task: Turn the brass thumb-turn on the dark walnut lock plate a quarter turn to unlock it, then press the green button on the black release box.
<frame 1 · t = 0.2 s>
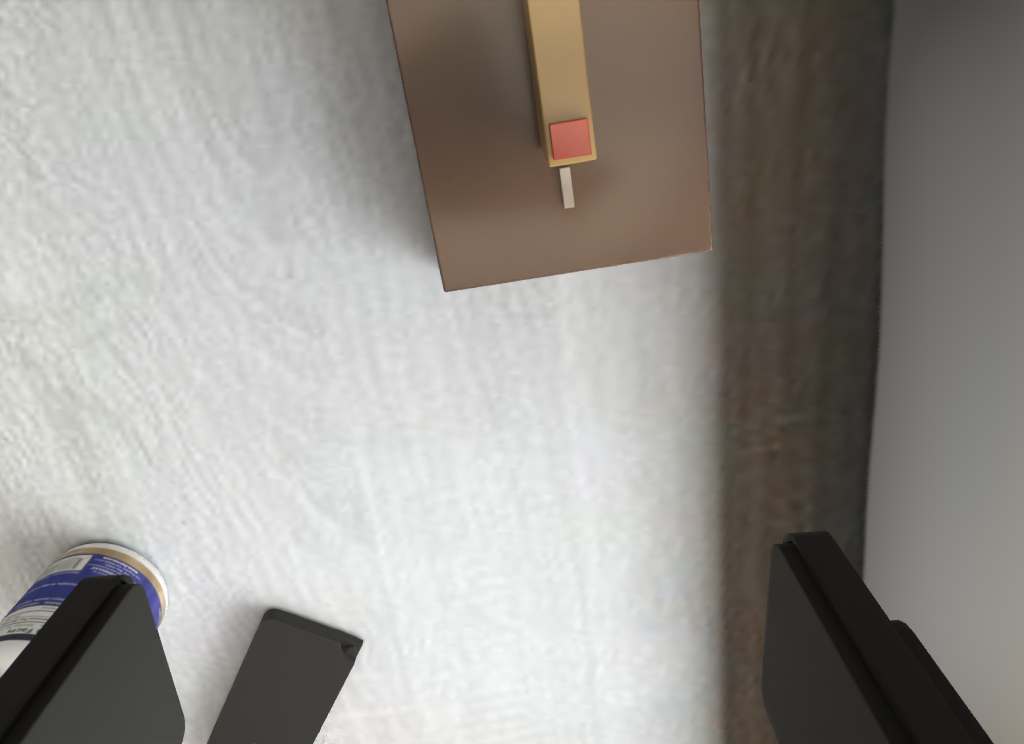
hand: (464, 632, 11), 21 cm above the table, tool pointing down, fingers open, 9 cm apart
lock plate: (546, 68, 28), on the table
pill bottle: (114, 584, 37), on the table
thumbturn: (556, 70, 23), point 5 cm above the table, hinge at 0.0°
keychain: (284, 689, 39), on the table
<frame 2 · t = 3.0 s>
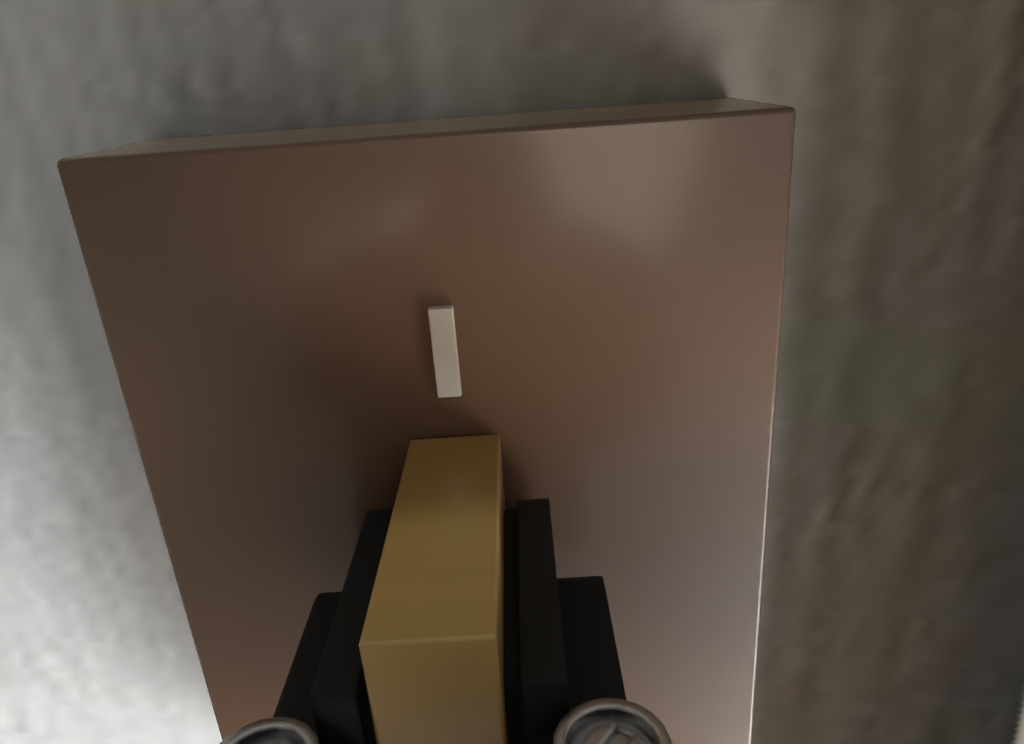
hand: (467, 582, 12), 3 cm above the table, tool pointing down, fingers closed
lock plate: (475, 476, 15), on the table
thumbturn: (461, 674, 10), point 5 cm above the table, hinge at 0.0°, touching gripper
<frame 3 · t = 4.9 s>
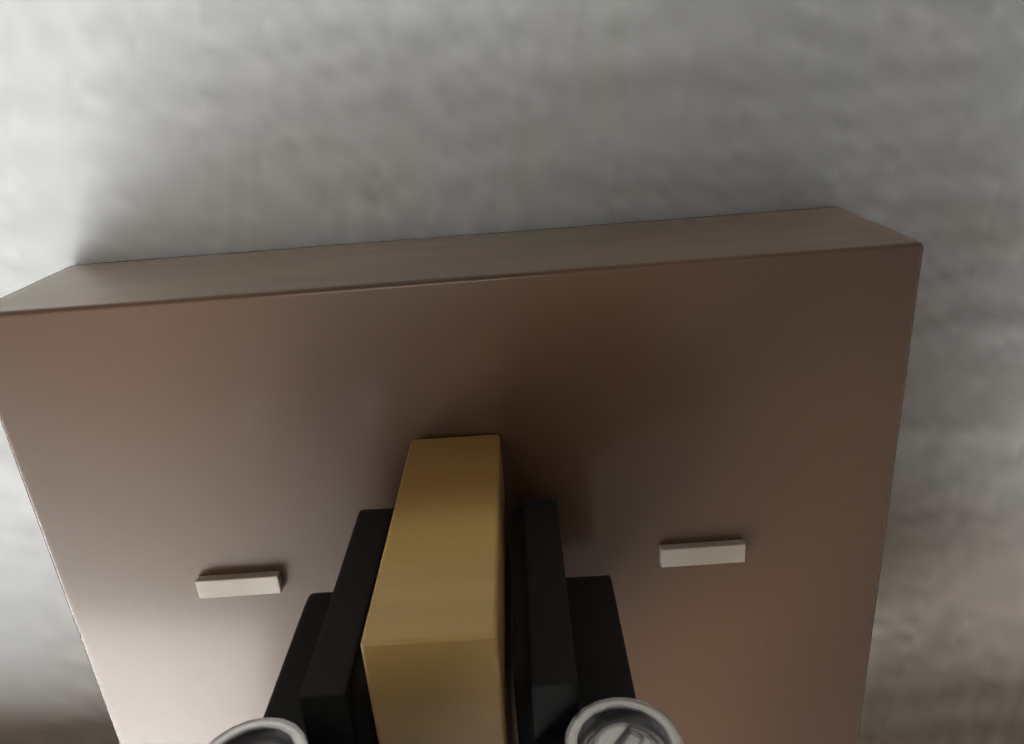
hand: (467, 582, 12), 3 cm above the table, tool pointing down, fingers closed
lock plate: (476, 476, 16), on the table
thumbturn: (462, 673, 11), point 5 cm above the table, hinge at 89.6°
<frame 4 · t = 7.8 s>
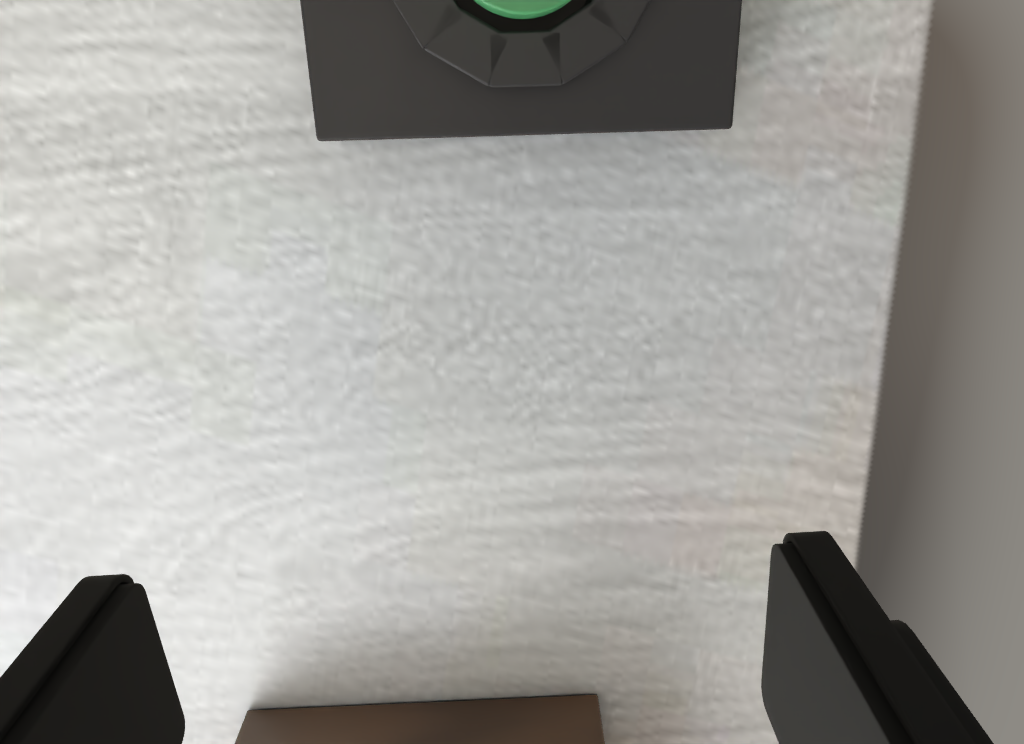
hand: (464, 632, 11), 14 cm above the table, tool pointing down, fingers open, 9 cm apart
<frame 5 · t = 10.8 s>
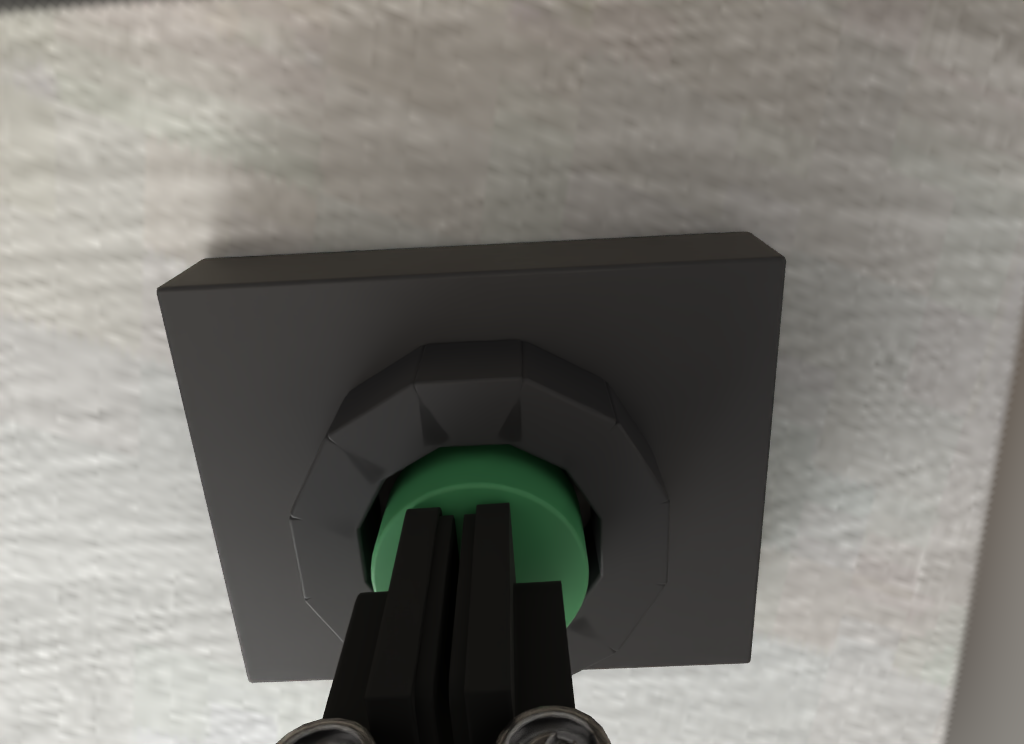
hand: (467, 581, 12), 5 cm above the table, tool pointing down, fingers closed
release button: (481, 547, 13), point 4 cm above the table, slide at -0.5 cm, touching gripper
release box: (488, 444, 17), on the table
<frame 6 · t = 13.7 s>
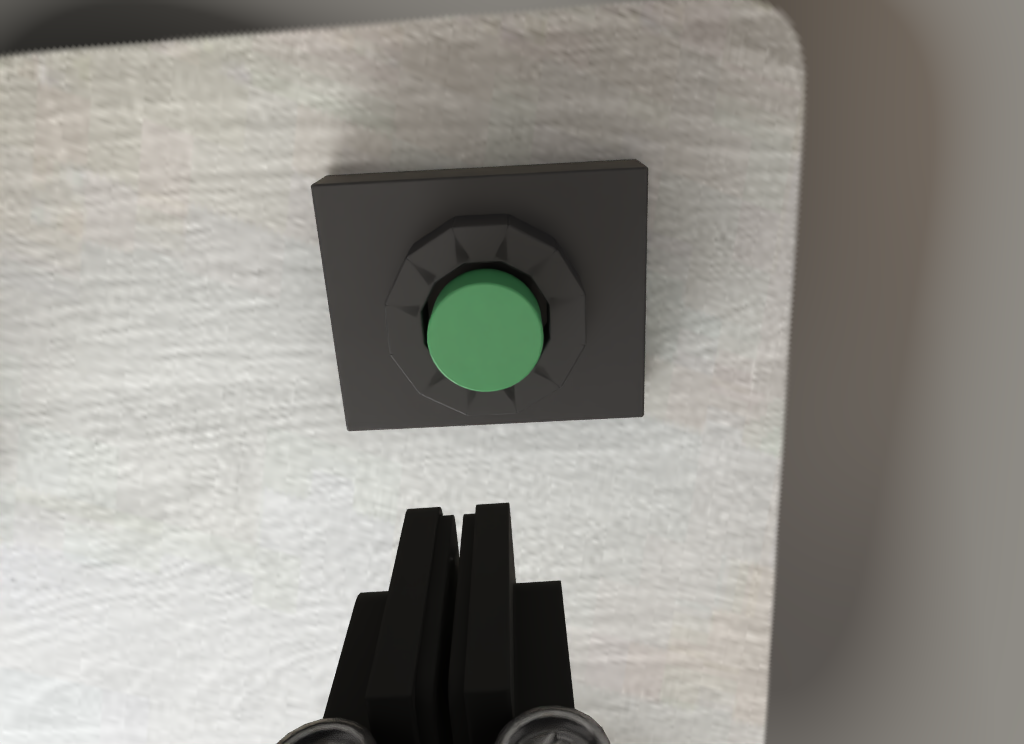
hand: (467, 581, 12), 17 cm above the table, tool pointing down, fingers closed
release button: (485, 330, 24), point 4 cm above the table, slide at 0.1 cm
release box: (488, 290, 28), on the table
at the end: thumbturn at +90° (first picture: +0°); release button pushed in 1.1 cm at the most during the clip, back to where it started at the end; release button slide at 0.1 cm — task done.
